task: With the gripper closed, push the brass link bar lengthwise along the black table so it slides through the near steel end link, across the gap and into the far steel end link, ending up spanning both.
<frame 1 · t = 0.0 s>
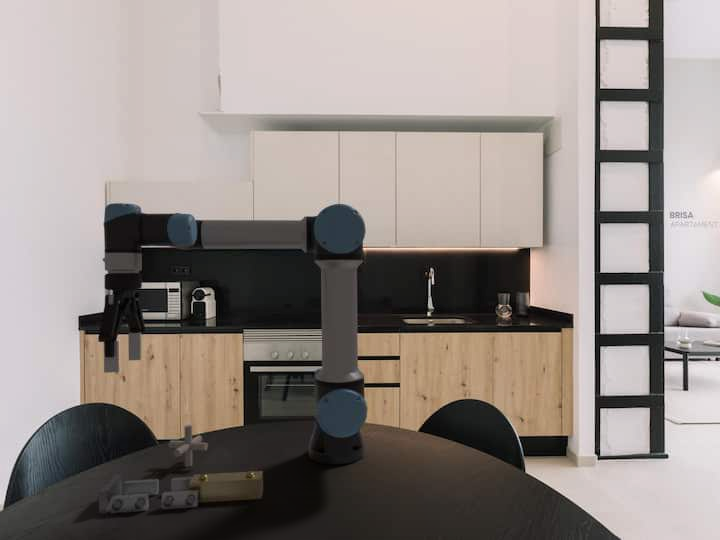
hand: (124, 365, 104), 28 cm above the table, fingers open, 13 cm apart
chain end far: (135, 502, 98), on the table
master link: (227, 497, 100), on the table
chain end near: (184, 499, 99), on the table
pipe connector: (188, 466, 116), on the table
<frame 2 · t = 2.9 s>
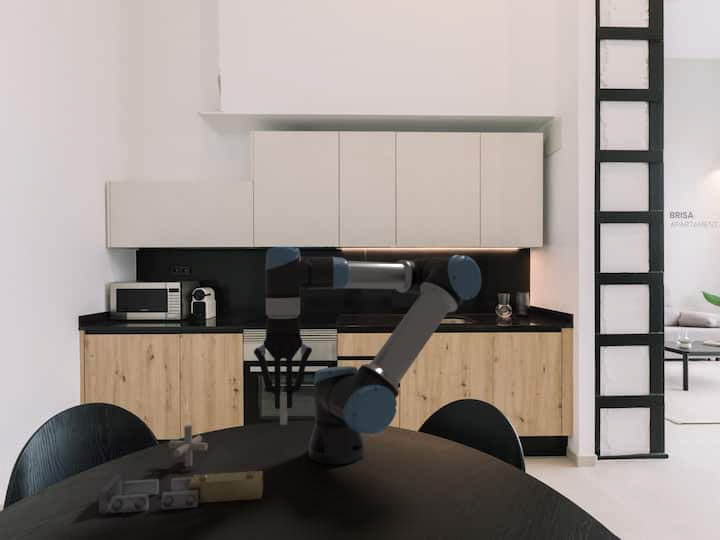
hand: (283, 422, 101), 15 cm above the table, fingers closed
nothing on the table moved.
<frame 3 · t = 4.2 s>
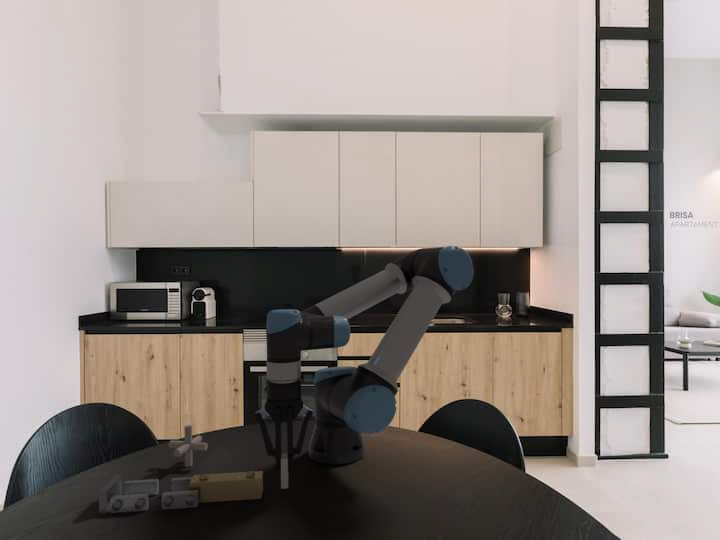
hand: (284, 485, 101), 1 cm above the table, fingers closed
nothing on the table moved.
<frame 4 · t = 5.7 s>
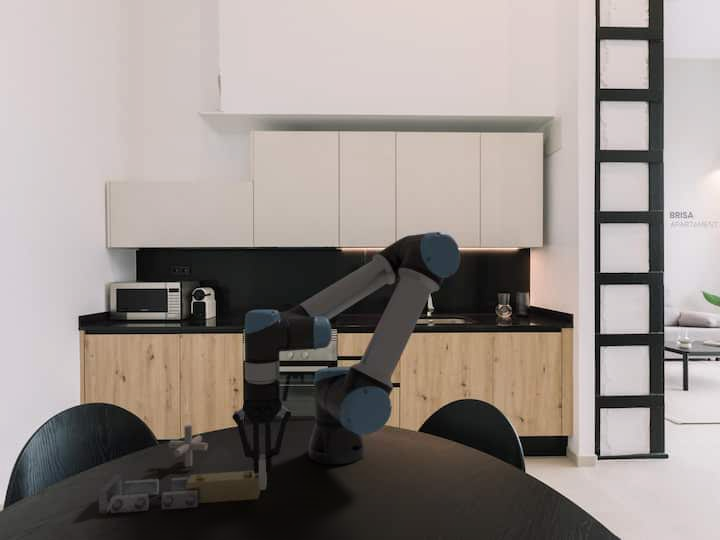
hand: (262, 486, 101), 2 cm above the table, fingers closed
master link: (224, 497, 100), on the table, touching gripper
everything else where it was.
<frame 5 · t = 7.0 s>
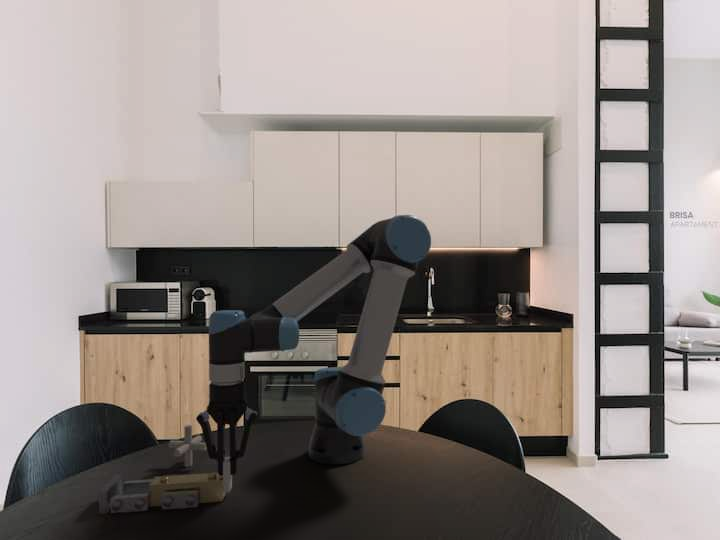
hand: (227, 489, 100), 2 cm above the table, fingers closed
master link: (188, 499, 99), on the table, touching gripper
everything else where it was.
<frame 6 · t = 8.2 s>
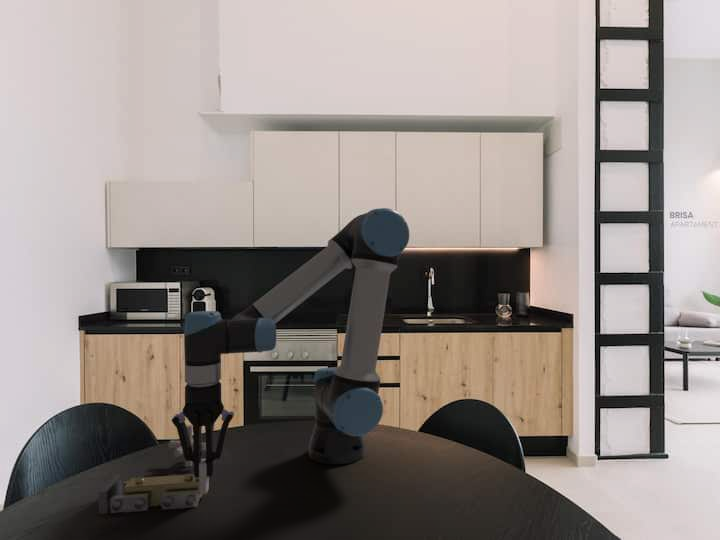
hand: (204, 491, 99), 1 cm above the table, fingers closed
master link: (164, 501, 98), on the table
everything else where it was.
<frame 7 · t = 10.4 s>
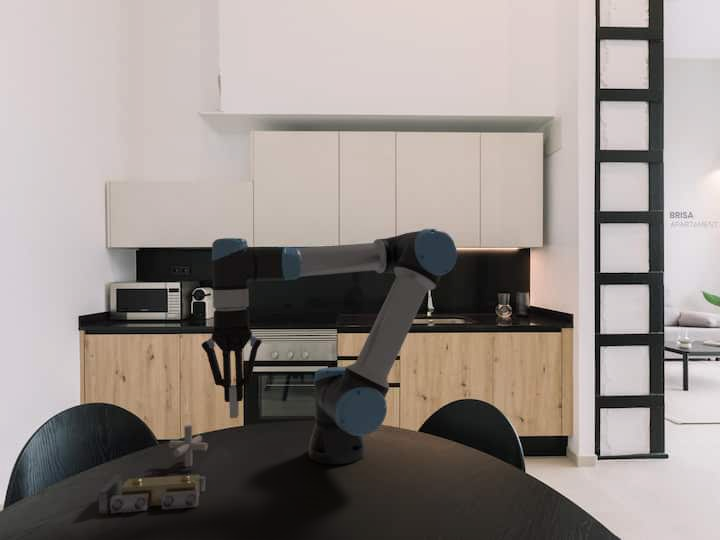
hand: (234, 416, 100), 17 cm above the table, fingers closed
nothing on the table moved.
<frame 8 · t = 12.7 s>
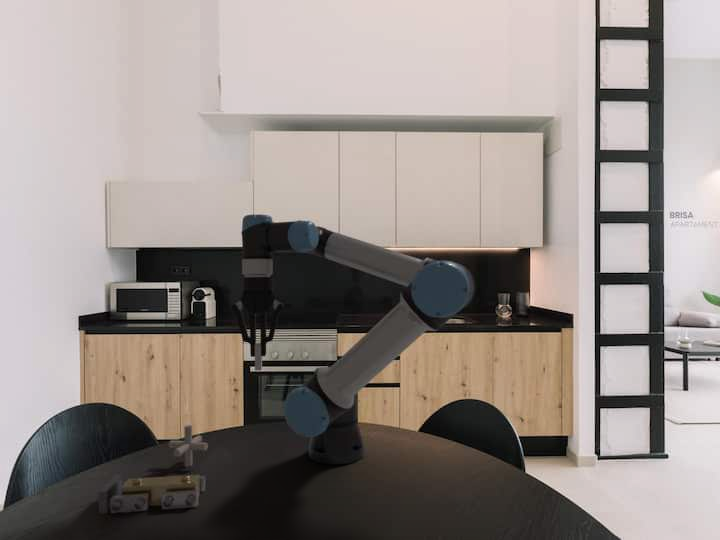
hand: (258, 369, 116), 24 cm above the table, fingers closed
nothing on the table moved.
at the end: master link 0.6 cm from the target spot, on the table; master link tilted 0°; the gripper is holding nothing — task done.
